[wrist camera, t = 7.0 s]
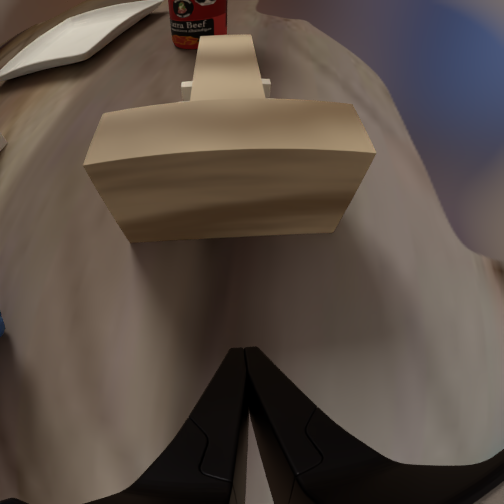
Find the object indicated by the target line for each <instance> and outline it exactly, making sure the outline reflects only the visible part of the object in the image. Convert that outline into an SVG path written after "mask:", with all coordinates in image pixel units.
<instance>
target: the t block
mask: <svg viewBox="0 0 504 504" xmlns="http://www.w3.org/2000/svg"><path fill="white" fill-rule="evenodd" d="M375 155H376V151H375V149H374V147H373V145H372V142H371V140H370V138H369V136H368V134H367V132H366V130H365V128H364V126H363V124H362V122H361V120H360V118H359V116H358V114H357V112H356V110H355V109H354V107H353V105H352V104H345V103H335V102H325V101H312V100H296V99H266V98H265V93H264V89H263V84H262V80H261V75H260V71H259V67H258V62H257V58H256V54H255V50H254V45H253V41H252V37H251V35H213V36H200V40H199V46H198V51H197V57H196V63H195V70H194V76H193V83H192V90H191V97H190V101H188V102H177V103H168V104H159V105H152V106H145V107H138V108H132V109H126V110H120V111H114V112H109V113H104V114H103V115H102V118H101V120H100V122H99V125H98V127H97V130H96V132H95V134H94V137H93V140H92V142H91V145H90V147H89V150H88V153H87V156H86V158H85V161H84V164H83V166H84V168H85V170H86V172H87V173H88V175H89V177H90V179H91V181H92V182H93V184H94V186H95V187H96V189H97V191H98V193H99V194H100V196H101V198H102V199H103V201H104V203H105V204H106V206H107V208H108V209H109V211H110V212H111V214H112V216H113V217H114V219H115V220H116V222H117V224H118V225H119V227H120V228H121V230H122V231H123V233H124V234H125V236H126V238H127V239H128V241H129V242H130V243H138V242H154V241H171V240H188V239H206V238H225V237H245V236H266V235H288V234H312V233H333V232H334V230H335V229H336V227H337V225H338V223H339V222H340V220H341V218H342V216H343V214H344V213H345V211H346V209H347V207H348V206H349V204H350V202H351V200H352V198H353V196H354V195H355V193H356V191H357V189H358V187H359V185H360V184H361V182H362V180H363V178H364V176H365V174H366V172H367V170H368V168H369V167H370V165H371V163H372V161H373V159H374V157H375Z"/></svg>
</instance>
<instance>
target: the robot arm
mask: <svg viewBox="0 0 504 504" xmlns="http://www.w3.org/2000/svg"><path fill="white" fill-rule="evenodd" d="M249 413H250V418H251V422H252V426H253V430H254V433H255V437H256V441H257V445H258V448H259V452H260V456H261V459H262V463H263V467H264V470H265V474H266V477H267V481H268V484H269V488H270V491H271V495H272V498H273V501H274V504H504V449H503V450H502V451H500V452H499V453H498V454H496V455H495V456H493V457H492V458H490V459H488V460H486V461H484V462H481V463H477V464H473V465H461V466H433V465H412V464H403V463H399V462H396V461H393V460H391V459H388V458H386V457H385V456H383V455H381V454H380V453H378V452H377V451H375V450H374V449H372V448H370V447H369V446H367V445H366V444H364V443H363V442H361V441H360V440H358V439H357V438H355V437H354V436H352V435H351V434H350V433H348V432H347V431H345V430H344V429H343V428H341V427H340V426H339V425H337V424H336V423H335V422H334V421H333V420H332V419H330V418H329V417H328V416H327V415H326V414H325V413H324V412H323V411H322V410H321V409H320V408H318V407H317V406H316V405H315V404H314V403H313V402H312V401H311V400H310V399H309V398H308V397H307V396H306V395H305V394H304V393H303V392H302V391H301V390H300V389H299V388H298V387H297V386H296V385H295V384H294V383H293V382H292V381H291V380H290V379H289V378H288V377H287V376H286V375H285V374H284V373H283V372H282V371H281V370H280V369H279V368H278V367H277V366H276V365H275V364H274V363H273V362H272V361H271V360H270V359H269V358H268V357H267V356H266V355H265V354H264V353H263V352H262V351H261V350H260V349H259V348H258V347H245V348H244V349H243V348H231V349H230V350H229V351H228V353H227V355H226V356H225V358H224V360H223V361H222V363H221V365H220V366H219V368H218V370H217V371H216V373H215V374H214V376H213V378H212V379H211V381H210V383H209V384H208V386H207V388H206V389H205V391H204V392H203V394H202V396H201V397H200V399H199V401H198V402H197V404H196V405H195V407H194V409H193V410H192V412H191V413H190V415H189V418H187V420H186V421H185V423H184V424H183V426H182V427H181V429H180V430H179V432H178V433H177V435H176V436H175V438H174V439H173V440H172V441H171V443H170V444H169V445H168V446H167V447H166V449H165V450H164V451H163V452H162V453H161V454H160V456H159V457H158V458H157V459H156V460H155V461H154V462H153V463H152V464H151V465H150V466H149V468H148V469H147V470H146V471H145V472H144V473H143V474H142V475H141V476H140V477H139V478H138V479H137V480H136V481H135V482H134V483H133V484H132V485H131V486H129V487H128V488H126V489H125V490H123V491H121V492H119V493H117V494H114V495H111V496H108V497H104V498H101V499H98V500H95V501H91V502H88V503H84V504H245V494H246V472H247V451H248V428H249ZM0 504H28V503H26V502H24V501H21V500H19V499H16V498H8V499H5V500H1V501H0Z"/></svg>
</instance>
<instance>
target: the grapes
mask: <svg viewBox="0 0 504 504" xmlns="http://www.w3.org/2000/svg"><path fill="white" fill-rule="evenodd" d="M4 330H5V325H4V322H3V319H2V317H1V312H0V337H1V336H2V335H3V333H4Z"/></svg>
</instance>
